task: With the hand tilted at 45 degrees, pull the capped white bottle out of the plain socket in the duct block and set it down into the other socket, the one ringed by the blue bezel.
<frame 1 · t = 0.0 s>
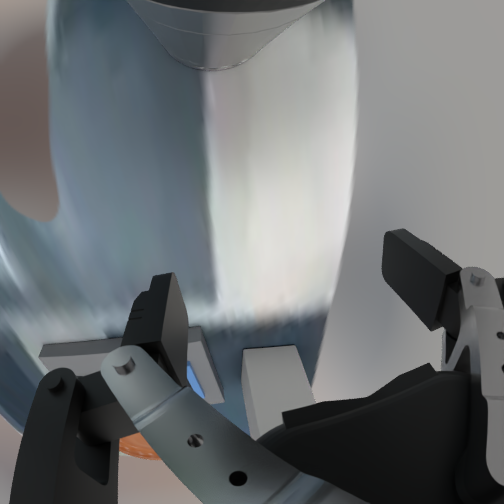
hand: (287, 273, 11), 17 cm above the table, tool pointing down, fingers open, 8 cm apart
duct block: (131, 371, 37), on the table
milk carton: (266, 361, 39), on the table
saucer: (146, 434, 48), on the table
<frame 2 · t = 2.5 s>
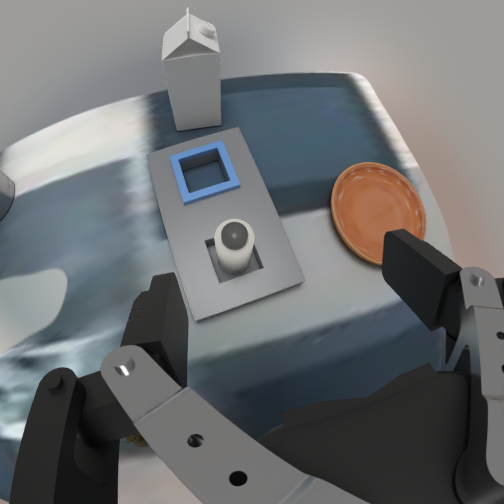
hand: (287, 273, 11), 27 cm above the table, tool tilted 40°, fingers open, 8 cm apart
duct block: (218, 218, 39), on the table
capped white bottle: (233, 259, 38), resting in duct block
milk carton: (197, 114, 44), on the table
saucer: (374, 217, 42), on the table
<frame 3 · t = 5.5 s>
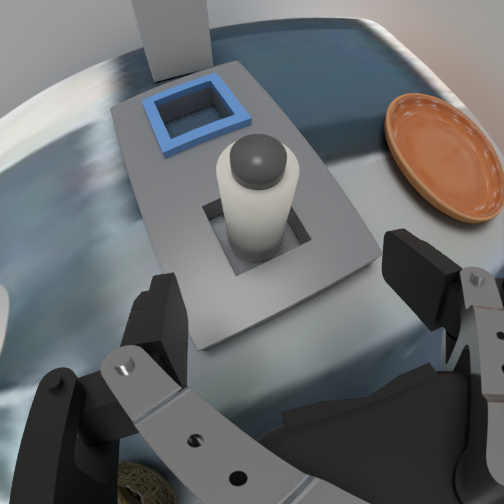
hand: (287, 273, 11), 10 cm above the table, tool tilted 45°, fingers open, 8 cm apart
duct block: (222, 176, 24), on the table
capped white bottle: (255, 236, 22), resting in duct block
milk carton: (181, 62, 30), on the table
cup: (149, 480, 16), on the table
saucer: (440, 163, 26), on the table
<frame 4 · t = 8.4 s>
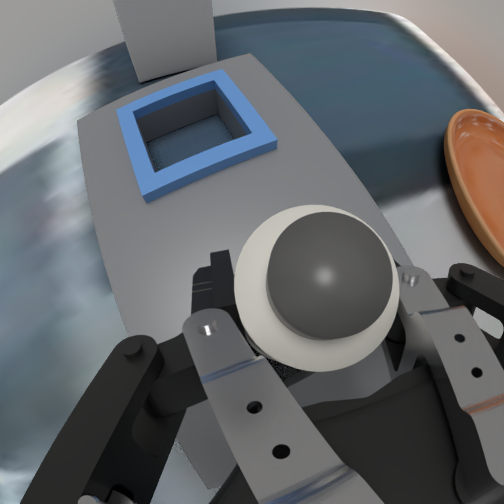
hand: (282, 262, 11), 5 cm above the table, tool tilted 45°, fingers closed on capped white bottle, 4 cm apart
duct block: (233, 226, 17), on the table
capped white bottle: (281, 322, 15), resting in duct block, touching gripper
milk carton: (175, 57, 23), on the table
saucer: (498, 200, 18), on the table
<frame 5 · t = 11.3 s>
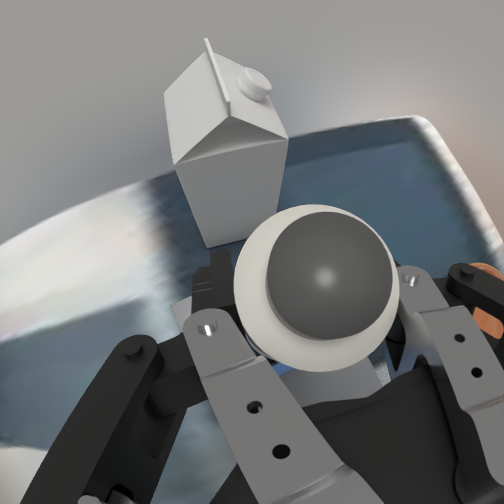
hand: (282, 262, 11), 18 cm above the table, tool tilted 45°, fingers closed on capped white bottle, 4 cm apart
duct block: (295, 387, 26), on the table
capped white bottle: (281, 322, 15), point 13 cm above the table, touching gripper
milk carton: (232, 212, 32), on the table
saucer: (470, 331, 28), on the table
when the fingers open (6 cm above the table, at t = 14.7 s): capped white bottle drops 1 cm, resting in duct block.
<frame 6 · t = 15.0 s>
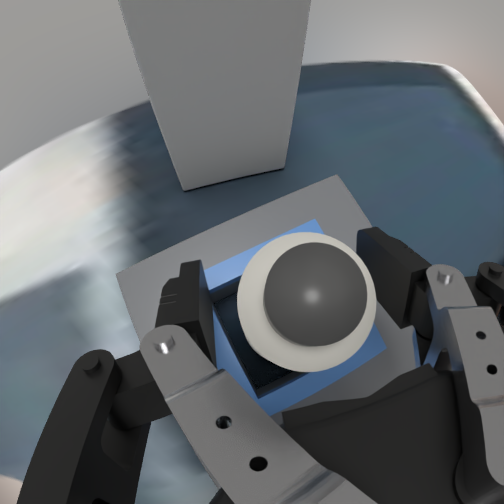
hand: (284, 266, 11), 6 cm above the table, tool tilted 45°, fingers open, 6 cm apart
duct block: (324, 412, 15), on the table
capped white bottle: (278, 326, 16), resting in duct block
milk carton: (223, 144, 21), on the table
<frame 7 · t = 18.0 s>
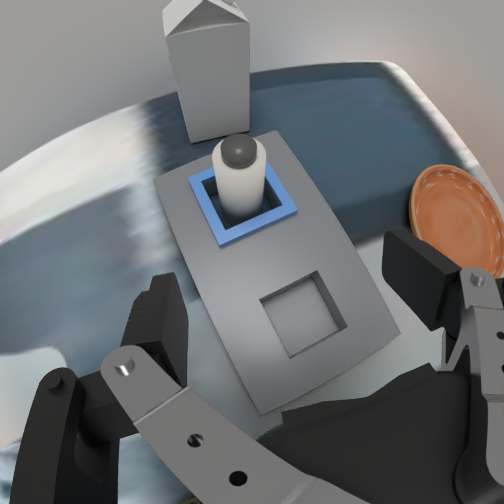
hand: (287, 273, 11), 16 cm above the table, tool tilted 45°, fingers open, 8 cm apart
duct block: (269, 260, 28), on the table
capped white bottle: (241, 209, 29), resting in duct block
milk carton: (215, 119, 34), on the table
saucer: (453, 233, 29), on the table
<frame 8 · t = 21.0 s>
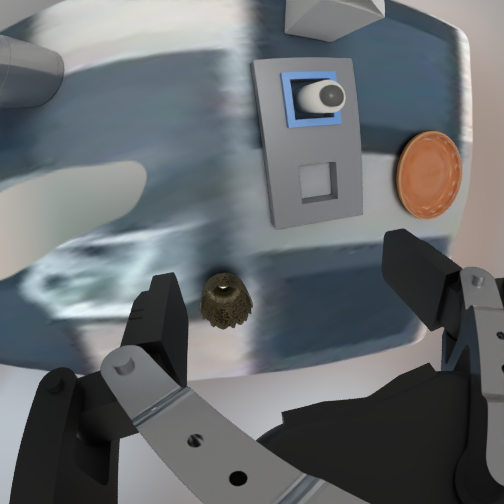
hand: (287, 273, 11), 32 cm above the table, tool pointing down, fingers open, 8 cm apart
duct block: (309, 139, 40), on the table
capped white bottle: (305, 100, 37), resting in duct block
milk carton: (308, 18, 31), on the table
cup: (222, 279, 48), on the table
saucer: (423, 172, 45), on the table
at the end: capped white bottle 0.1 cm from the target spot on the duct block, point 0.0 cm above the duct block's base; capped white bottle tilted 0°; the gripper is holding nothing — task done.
